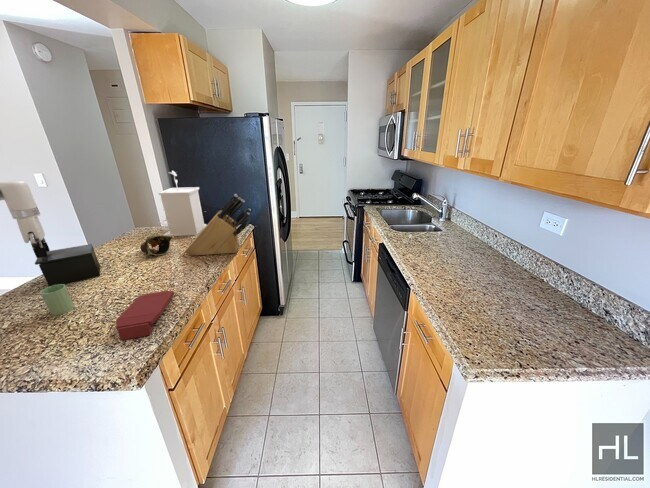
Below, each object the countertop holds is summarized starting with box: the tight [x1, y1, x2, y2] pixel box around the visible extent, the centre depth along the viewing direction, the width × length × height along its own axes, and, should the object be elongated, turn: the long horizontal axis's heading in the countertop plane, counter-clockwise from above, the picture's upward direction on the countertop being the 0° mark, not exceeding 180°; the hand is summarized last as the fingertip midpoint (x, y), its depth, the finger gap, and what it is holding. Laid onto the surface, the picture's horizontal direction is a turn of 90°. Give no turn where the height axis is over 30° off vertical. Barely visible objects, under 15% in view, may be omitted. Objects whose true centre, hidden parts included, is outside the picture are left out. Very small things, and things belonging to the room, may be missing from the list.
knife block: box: [184, 193, 252, 256], centre depth 139 cm, size 11×35×31 cm, turn 99°
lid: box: [34, 243, 93, 266], centre depth 113 cm, size 17×14×5 cm
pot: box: [139, 234, 175, 256], centre depth 142 cm, size 17×11×18 cm
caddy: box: [38, 245, 101, 287], centre depth 117 cm, size 17×14×11 cm
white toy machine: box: [158, 170, 207, 237], centre depth 172 cm, size 24×28×40 cm
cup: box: [39, 284, 75, 316], centre depth 94 cm, size 6×6×9 cm
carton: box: [115, 290, 175, 341], centre depth 92 cm, size 12×5×25 cm
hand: (43, 253), depth 110 cm, fingers closed on lid, 6 cm apart
